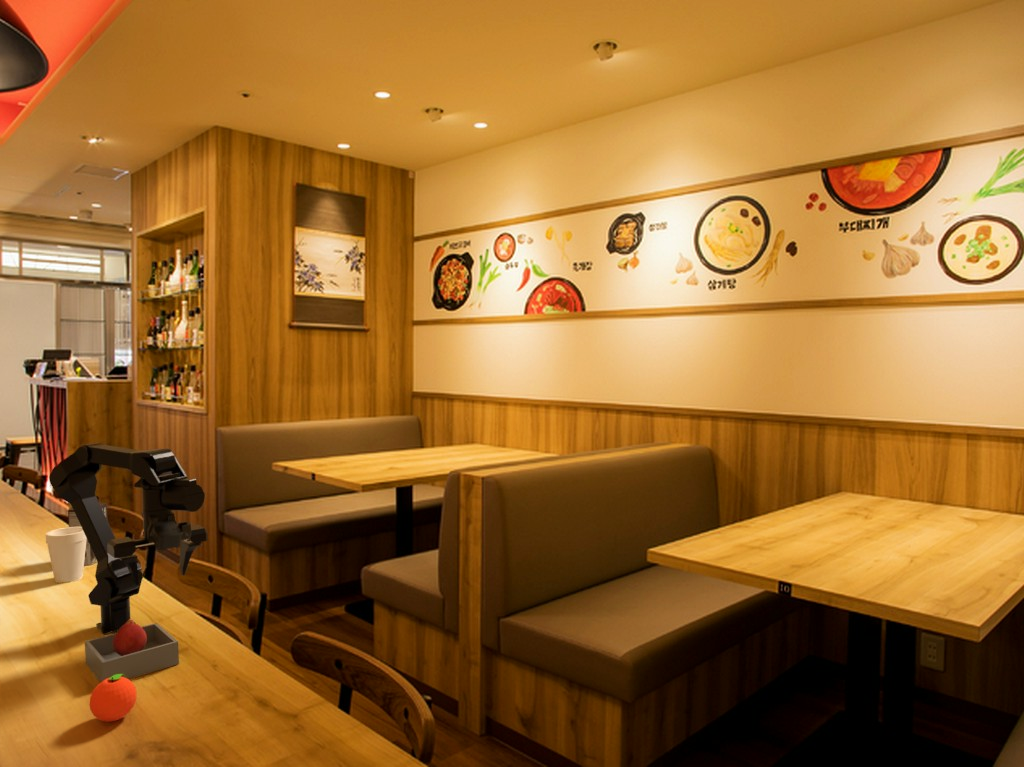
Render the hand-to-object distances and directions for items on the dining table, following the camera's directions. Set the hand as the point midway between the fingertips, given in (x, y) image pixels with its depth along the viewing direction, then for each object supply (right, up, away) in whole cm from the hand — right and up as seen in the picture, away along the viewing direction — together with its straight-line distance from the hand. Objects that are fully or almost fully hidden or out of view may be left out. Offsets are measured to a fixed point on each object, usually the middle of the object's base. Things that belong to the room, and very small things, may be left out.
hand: (160, 579), depth 154 cm
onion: (+1, -12, -14) cm, 18 cm away
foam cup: (-43, -10, +38) cm, 59 cm away
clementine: (+9, -14, -33) cm, 37 cm away
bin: (+1, -13, -13) cm, 19 cm away
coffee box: (-47, -10, +54) cm, 73 cm away
